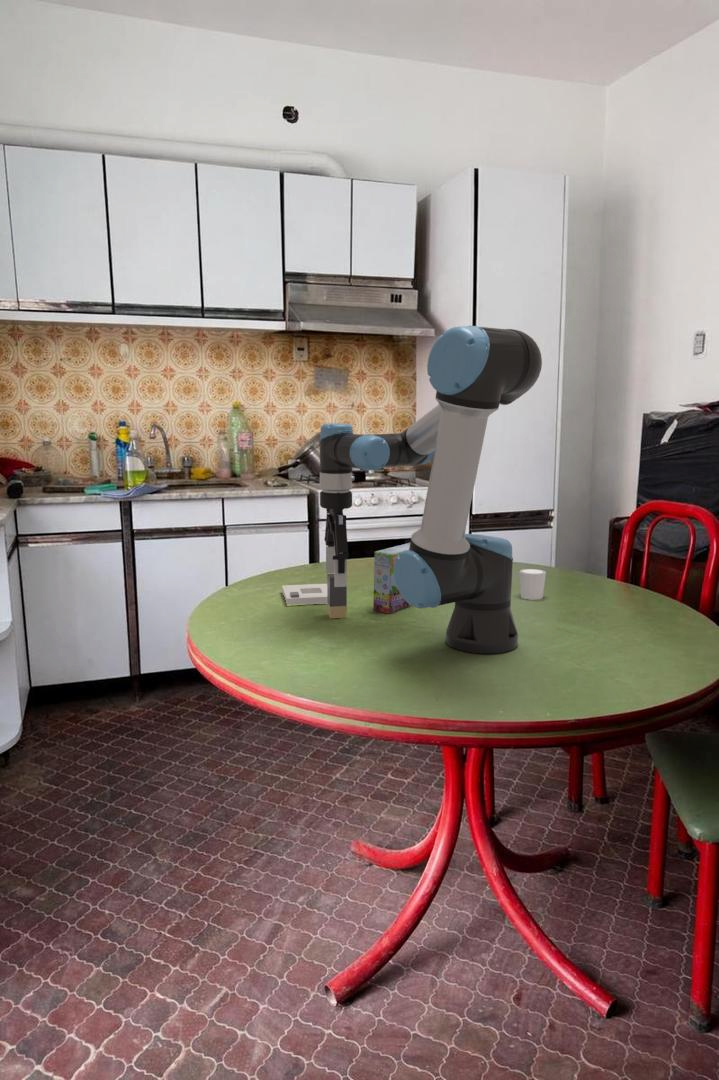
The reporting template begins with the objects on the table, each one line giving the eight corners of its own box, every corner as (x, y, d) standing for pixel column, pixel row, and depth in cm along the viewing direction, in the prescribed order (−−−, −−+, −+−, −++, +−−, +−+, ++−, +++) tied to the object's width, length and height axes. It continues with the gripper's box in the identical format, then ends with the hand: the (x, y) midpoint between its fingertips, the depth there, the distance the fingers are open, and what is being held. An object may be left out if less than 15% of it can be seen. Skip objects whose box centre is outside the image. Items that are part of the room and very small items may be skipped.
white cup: (547, 600, 195) (548, 574, 194) (521, 600, 196) (522, 574, 194) (541, 593, 202) (543, 568, 201) (516, 593, 202) (517, 568, 201)
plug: (346, 618, 180) (346, 577, 178) (330, 619, 179) (329, 577, 177) (343, 613, 184) (343, 573, 182) (327, 614, 183) (327, 574, 181)
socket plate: (341, 603, 193) (341, 593, 192) (286, 606, 190) (286, 596, 190) (333, 590, 206) (333, 580, 206) (282, 592, 204) (281, 583, 203)
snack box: (391, 615, 183) (391, 553, 180) (372, 611, 186) (372, 551, 183) (437, 597, 199) (438, 540, 197) (419, 593, 203) (419, 538, 200)
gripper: (362, 497, 165) (361, 592, 169) (343, 483, 189) (342, 566, 193) (327, 498, 163) (327, 593, 167) (313, 484, 187) (313, 567, 192)
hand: (335, 579), depth 180 cm, fingers open, 13 cm apart
